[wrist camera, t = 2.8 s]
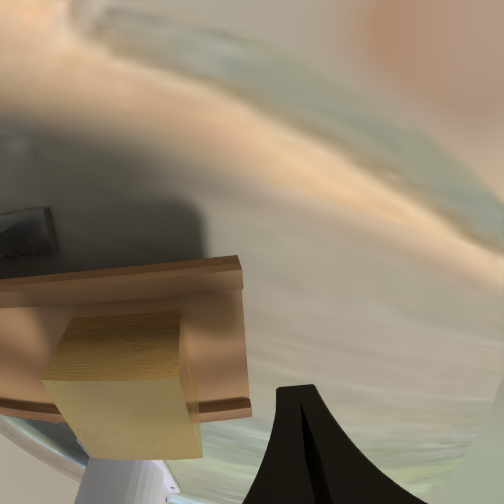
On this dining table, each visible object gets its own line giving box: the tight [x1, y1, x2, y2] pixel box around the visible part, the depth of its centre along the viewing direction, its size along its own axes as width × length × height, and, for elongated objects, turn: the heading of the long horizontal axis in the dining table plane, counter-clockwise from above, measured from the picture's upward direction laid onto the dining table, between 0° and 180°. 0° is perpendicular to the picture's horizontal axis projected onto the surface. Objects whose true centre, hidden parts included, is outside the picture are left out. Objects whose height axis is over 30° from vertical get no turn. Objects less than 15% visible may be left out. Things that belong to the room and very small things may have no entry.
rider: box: [41, 310, 203, 460], centre depth 11 cm, size 5×5×4 cm
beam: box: [0, 255, 252, 423], centre depth 13 cm, size 9×28×6 cm, turn 92°
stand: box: [0, 207, 59, 424], centre depth 15 cm, size 13×8×4 cm, turn 2°
